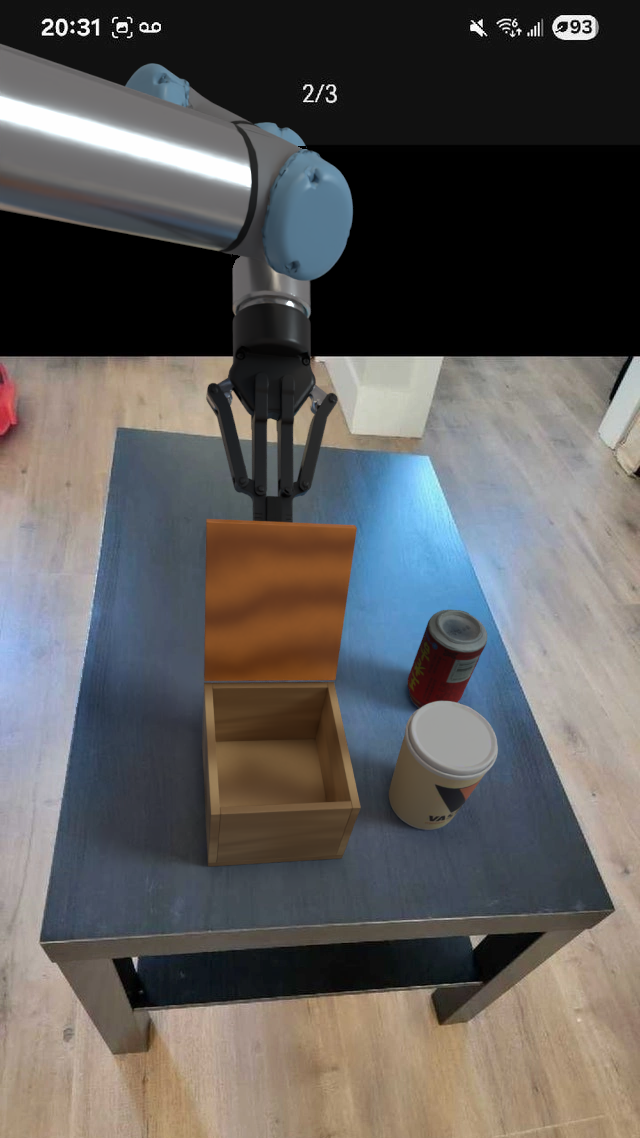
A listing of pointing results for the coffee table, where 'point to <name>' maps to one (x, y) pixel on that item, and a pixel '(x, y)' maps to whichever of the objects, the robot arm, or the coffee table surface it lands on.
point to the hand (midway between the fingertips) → (272, 565)
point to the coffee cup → (440, 763)
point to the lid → (275, 599)
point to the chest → (276, 773)
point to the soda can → (446, 657)
